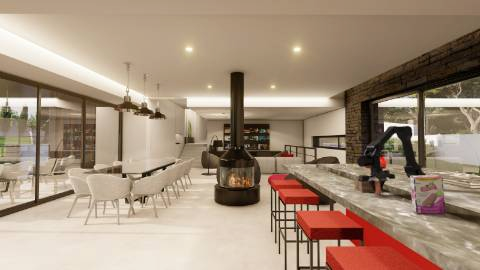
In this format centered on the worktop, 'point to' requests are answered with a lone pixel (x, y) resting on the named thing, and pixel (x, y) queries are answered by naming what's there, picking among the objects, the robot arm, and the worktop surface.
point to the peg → (377, 188)
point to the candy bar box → (427, 194)
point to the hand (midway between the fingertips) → (377, 191)
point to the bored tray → (363, 186)
